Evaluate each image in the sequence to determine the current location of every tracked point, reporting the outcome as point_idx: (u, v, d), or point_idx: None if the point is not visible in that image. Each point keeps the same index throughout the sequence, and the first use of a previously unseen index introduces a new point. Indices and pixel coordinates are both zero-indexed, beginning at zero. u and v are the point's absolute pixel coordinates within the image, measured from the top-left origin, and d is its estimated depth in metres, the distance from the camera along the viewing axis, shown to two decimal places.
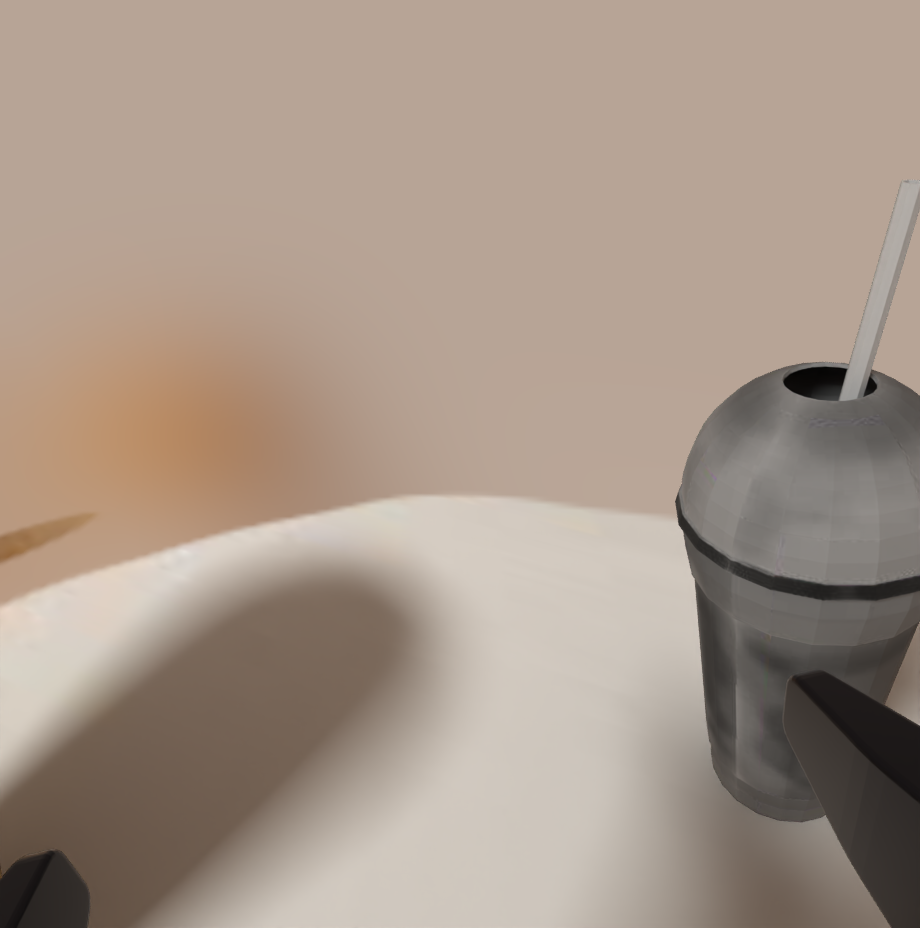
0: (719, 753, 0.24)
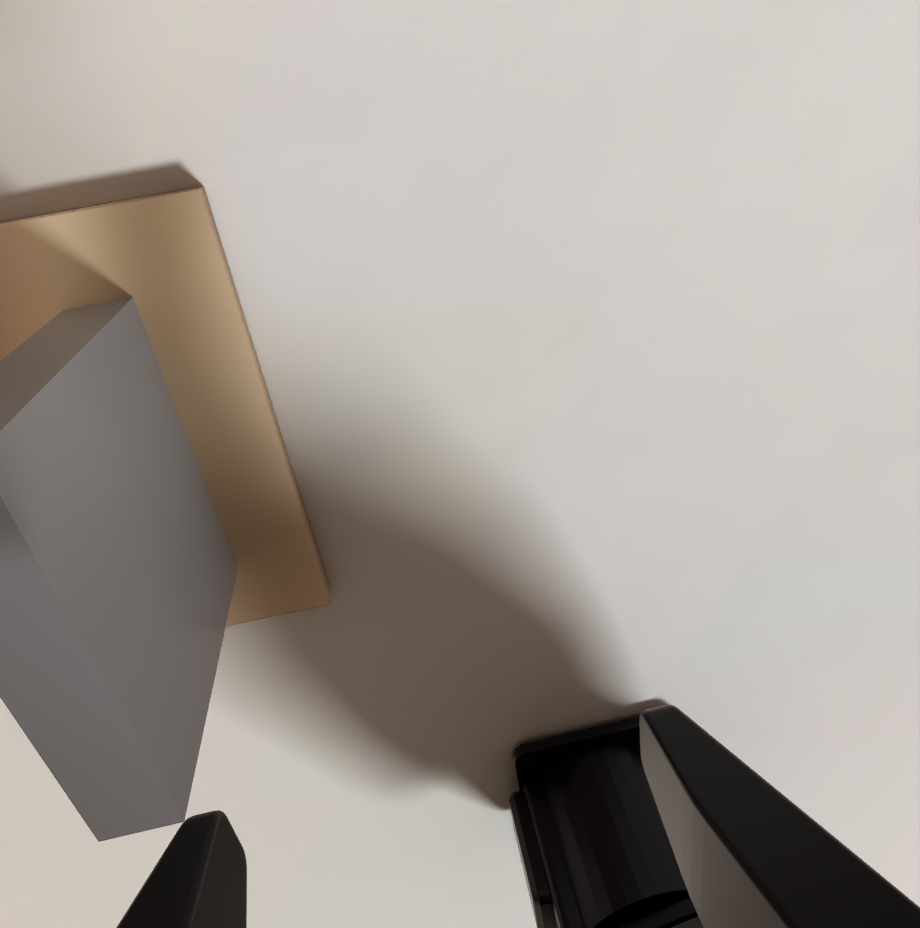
0: None
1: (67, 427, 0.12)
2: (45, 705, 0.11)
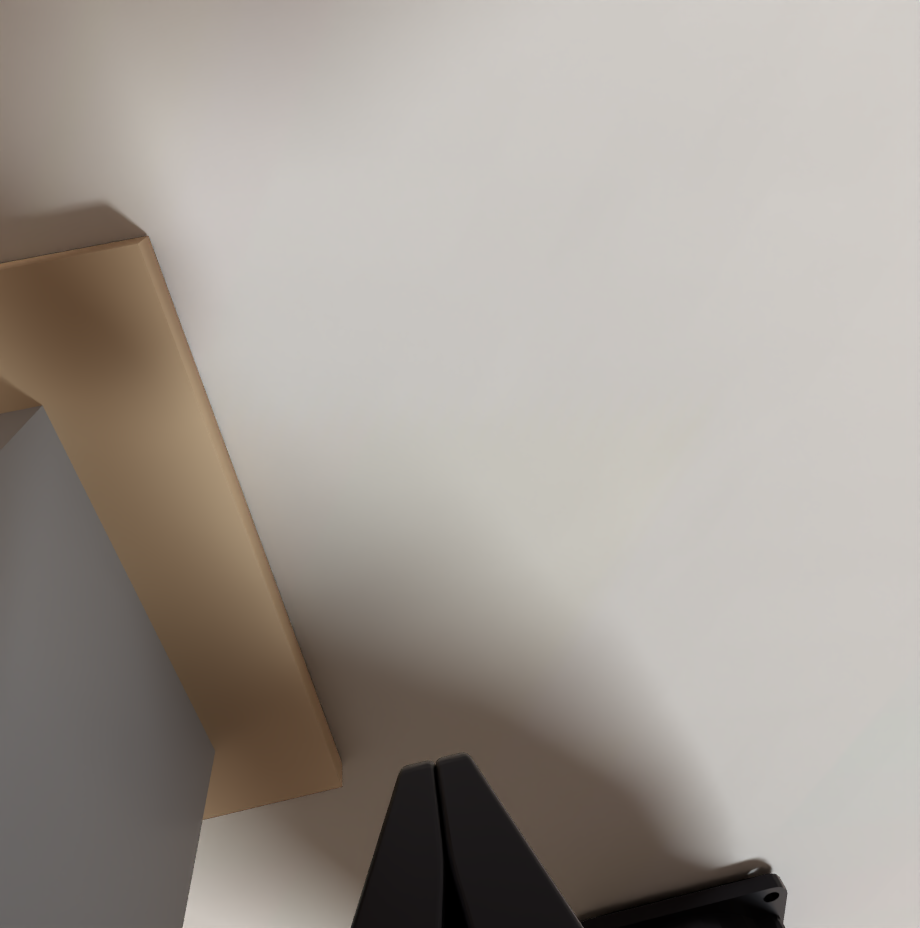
0: None
1: None
2: None
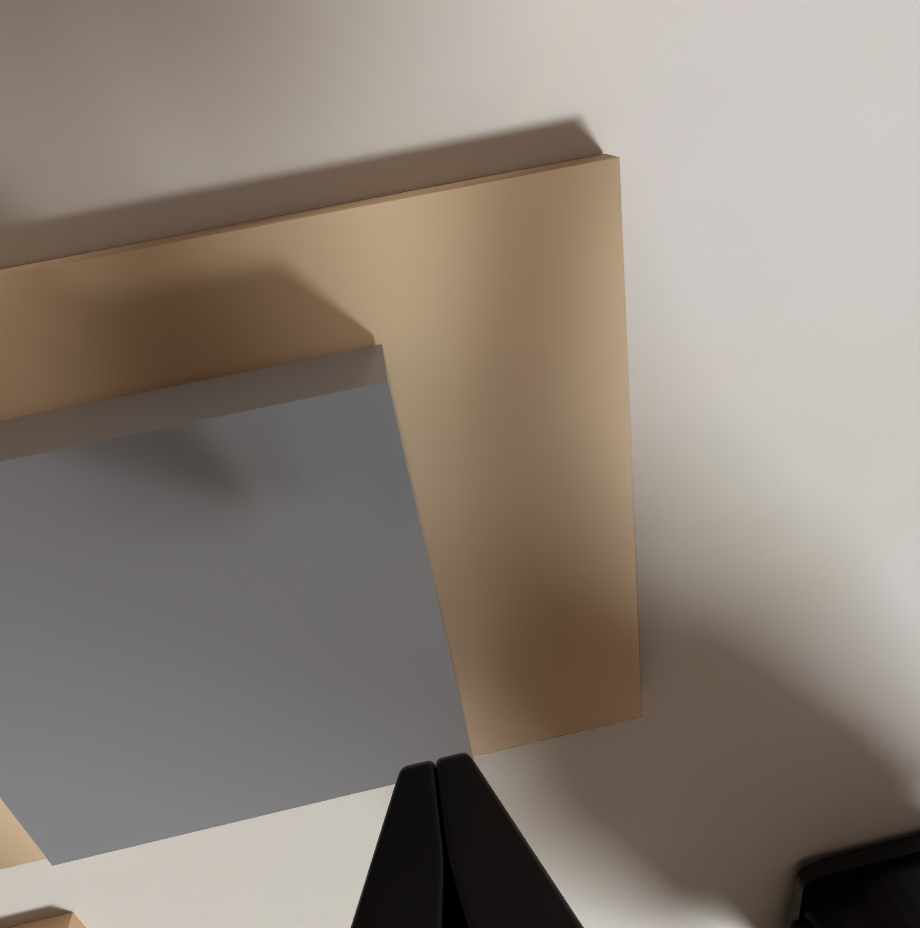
0: None
1: (5, 516, 0.09)
2: None
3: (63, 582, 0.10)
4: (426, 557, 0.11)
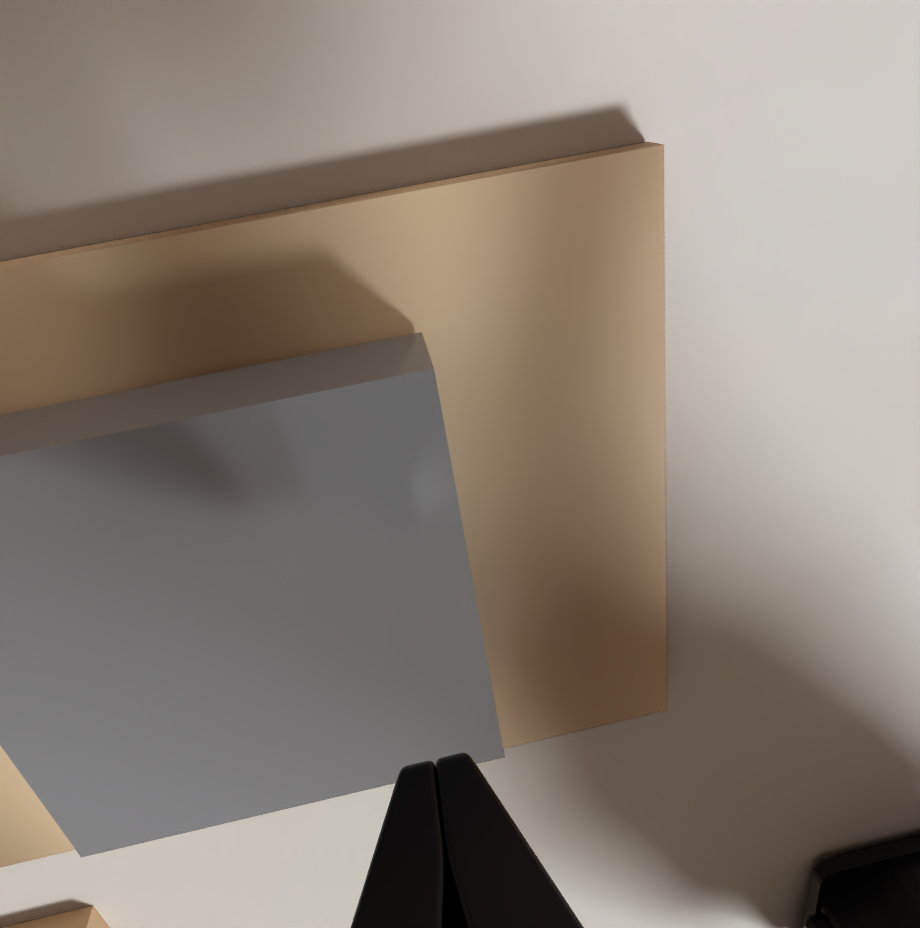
0: None
1: (47, 503, 0.09)
2: None
3: (102, 570, 0.10)
4: (465, 547, 0.11)
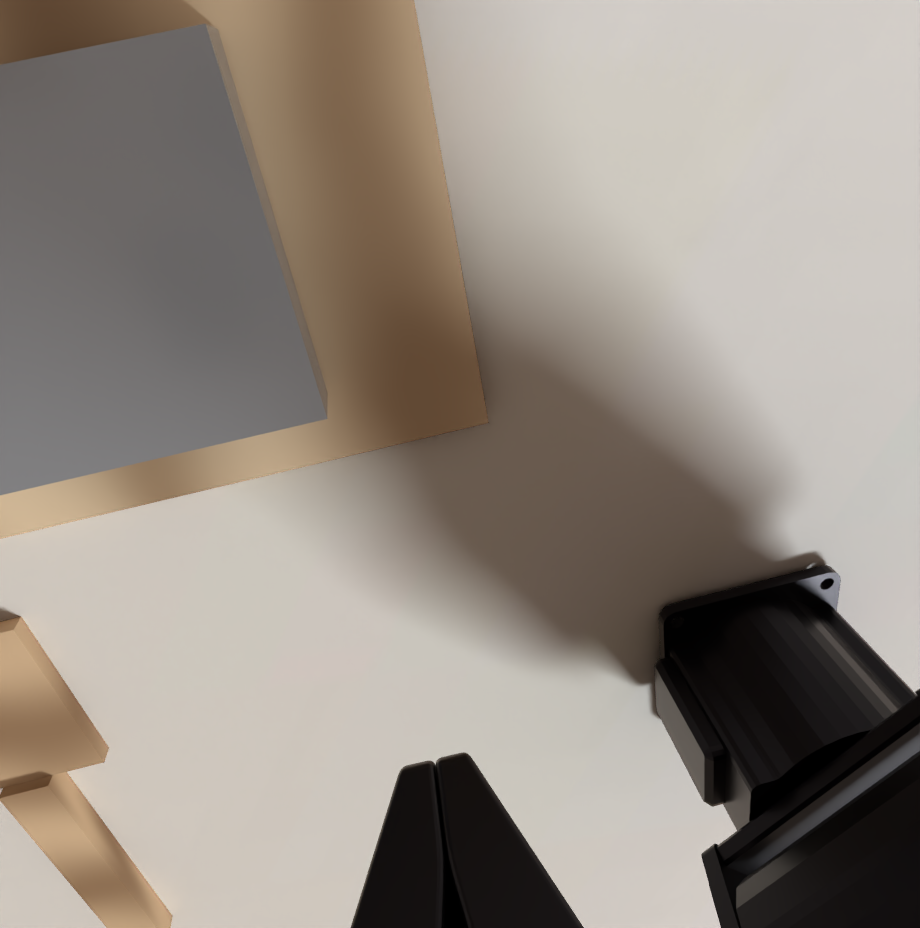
0: None
1: None
2: None
3: None
4: (258, 197, 0.14)
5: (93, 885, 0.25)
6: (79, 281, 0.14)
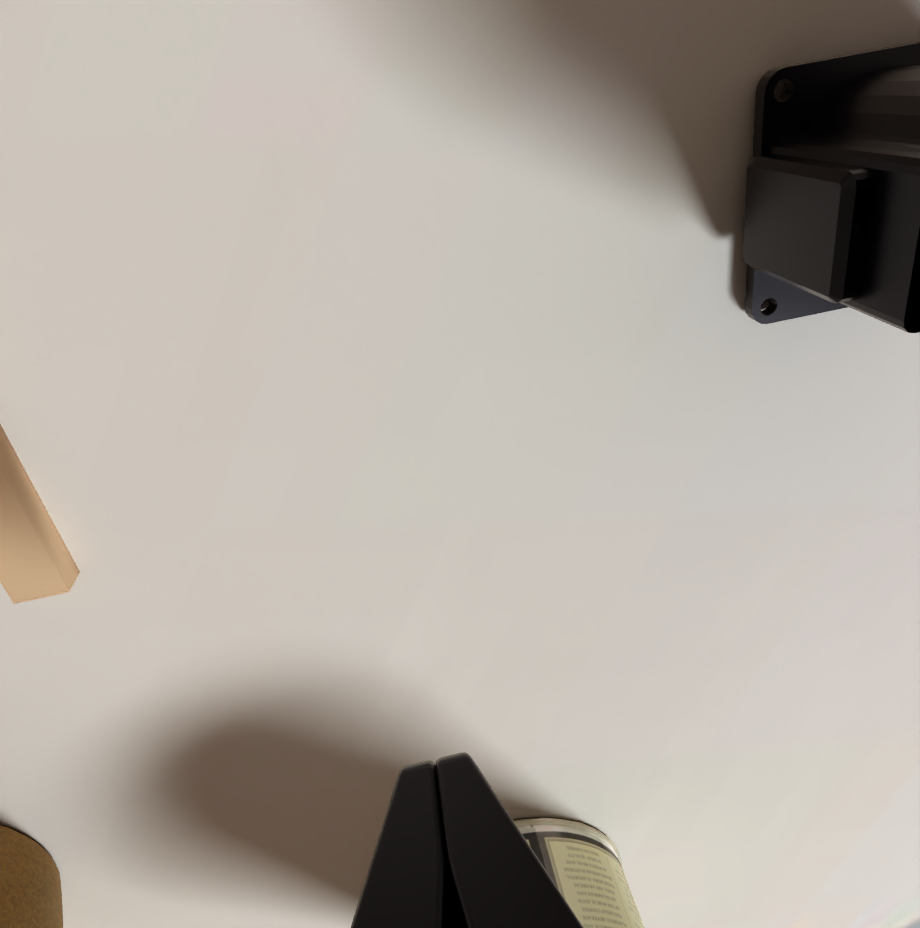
0: None
1: None
2: None
3: None
4: None
5: None
6: None
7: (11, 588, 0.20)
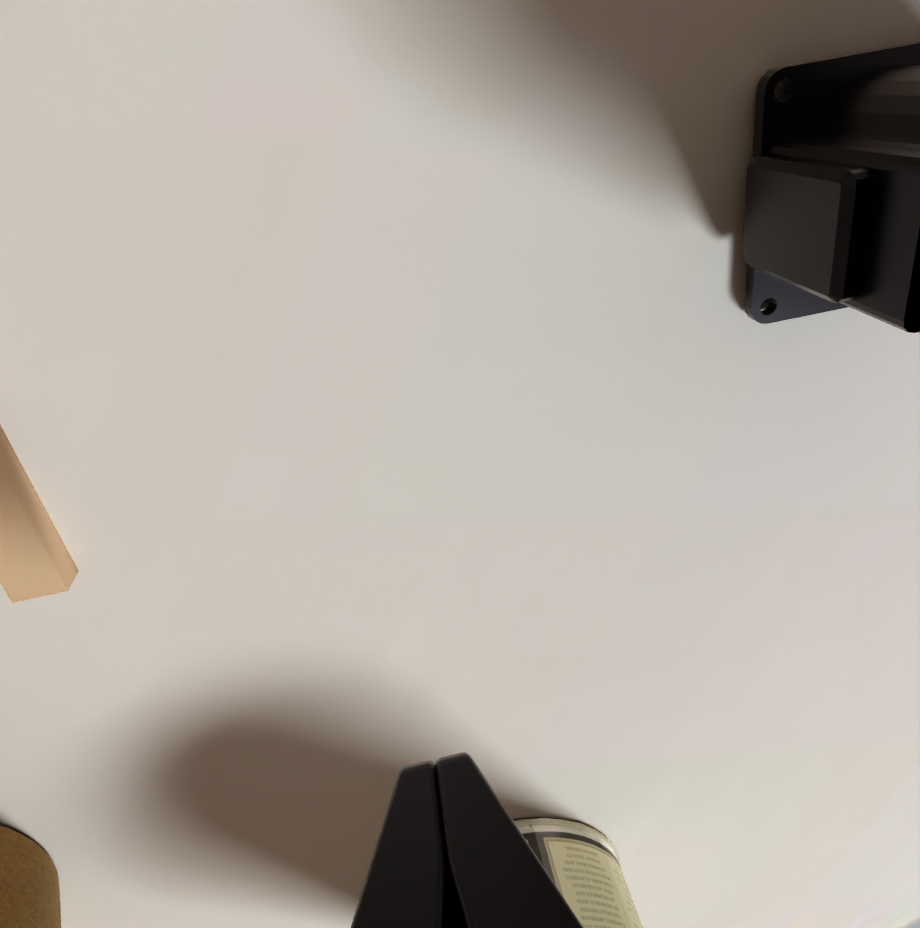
0: None
1: None
2: None
3: None
4: None
5: None
6: None
7: (10, 587, 0.20)
